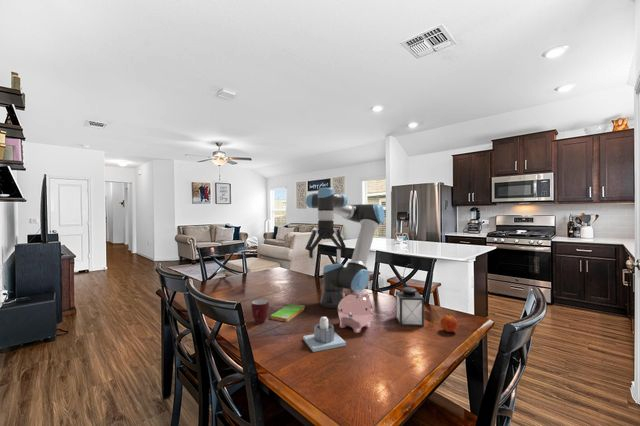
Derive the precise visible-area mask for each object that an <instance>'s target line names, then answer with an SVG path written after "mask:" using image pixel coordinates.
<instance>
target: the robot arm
mask: <svg viewBox="0 0 640 426" xmlns="http://www.w3.org/2000/svg"><path fill="white" fill-rule="evenodd" d="M348 201H349V199H348V197H347V195H346V194H345V193H342V192H335V191H334V188H332V187H319V188H318V190H317V193H311V194H310V193H309V194H308V195H307V196H306V198H305V203H306V206H307V207H308V208H310V209H317V218H318V221H317V230H313V229H312V230H311V233H310V234H311V235H310V236H309V239H308V242H307V244H306V245H305V248H304V249H305V250H306V251H308V257H309V258H310V265H312V266H315V263H316V262H315V249H316V247H317V246H318V245H319V243H320V242H321V241H323V240H331V241H332V242H333V244H334V245H335V246H336V247H337V248H336V263H331V264H326V265H325V266H323V269H322V270H323V271H322V275H323V276H322V278H323V279H322V281H323V288H322V289H323V291H322V294H321V297H320V305H321V306H322V307H324V308H329V309H338V305H339V302H340V301H341V299H342V298H343V294H342V293H344V295H345V291H344V289H346V290H350V291H351V290H352V291H359V292H362V291H364V290H366V288H367V287H368V285H369V282H370V272H369V270H368V267H367V263H368V262H367V261H368V259H369V258H368V257H369V254H370V251H371V247H372V243H373V239H374V235H375V231H376V229H378V228H379V226H380V224H383V223H384V222H385V219H386V216H385V215H386V213H385V210H384V207H383V206H382V205H381V204H378V203H377V204H376V203H371V204H370V203H369V204H368V203H366V204H364V203H363V204H361V203H359V204H351V203H348ZM334 215H338V216H341V217H342V218H343V219H344V220H347V221H351V222H353V223H354V222H355V223H359V224H360V229H359V232H358V236H357V239H356V242H355V245H354V248H353V249H354V250H353V253H352V256H351V260H350V261H349V262H347V265H346V267H345V266H344V263H342V262H341V261H342V259H341V257H343V250H344V249H345V248H347V246H346V243H345V242H344V239H343V237H342V236H341V230H340V229H339V228H338V229H334V223H335V222H334ZM317 235H318V236H317ZM334 235H335V236H336V237H335V236H334ZM316 236H317V237H316ZM315 238H316V239H315ZM336 238H337V239H336ZM314 239H315V240H314Z"/></svg>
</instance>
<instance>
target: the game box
mask: <svg viewBox="0 0 640 426" xmlns="http://www.w3.org/2000/svg"><path fill="white" fill-rule="evenodd" d="M305 307H306V306H305V305H302V304H295V303H289V304H287V305H286V306H284V307H282V308H280V309H279V310H277V311H276V312H274V313H273V314H271V315H270V320H274V321H281V322H285V323H288V322H289V321H291V320H292V319H294V318H295V317H296V316H298V315H300V314H301V313H302V312H304V311H305Z"/></svg>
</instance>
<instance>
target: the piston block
mask: <svg viewBox="0 0 640 426" xmlns="http://www.w3.org/2000/svg"><path fill="white" fill-rule="evenodd" d="M328 323H329V318H328V317H327V316H321V317H320V318H319V324H320V329H323V330H326V329H328ZM302 336H303V341H304V342H305V344H306V345H307V347H308V348H310V350H311V351H312V352H313V353H315V352H321V351H322V352H323V351H327V350H331V349H336V348H341V347H346V346H347V341H345V340H344V339H343V338H342V337H341V336H340V335H339V334H338V333H337V332H336V331H334V341H332V342H330V343H319V342H316V341H315V340H314V333H312V334H308V335H302Z"/></svg>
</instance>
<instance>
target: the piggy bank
mask: <svg viewBox="0 0 640 426" xmlns="http://www.w3.org/2000/svg"><path fill="white" fill-rule="evenodd" d="M342 294H343V298H342V299H341V301H340V302H339V305H338V308H337V314H338V318H339V320H340V323H339V328H341V329H345V328H347V327H349V328H351V329H352V330H353V333H354V334H355V333H356V334H358V333H361V332H362V329H363V328H367V329H368V328H370V327H371V322H372V320H373V318H374V317H375V311H374V305H373V304H372V301H371V299H370V294H369V293H366V294H359V293H358V294H357V293H347V294H346V295H344V294H345V292H344V293H342Z"/></svg>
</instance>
